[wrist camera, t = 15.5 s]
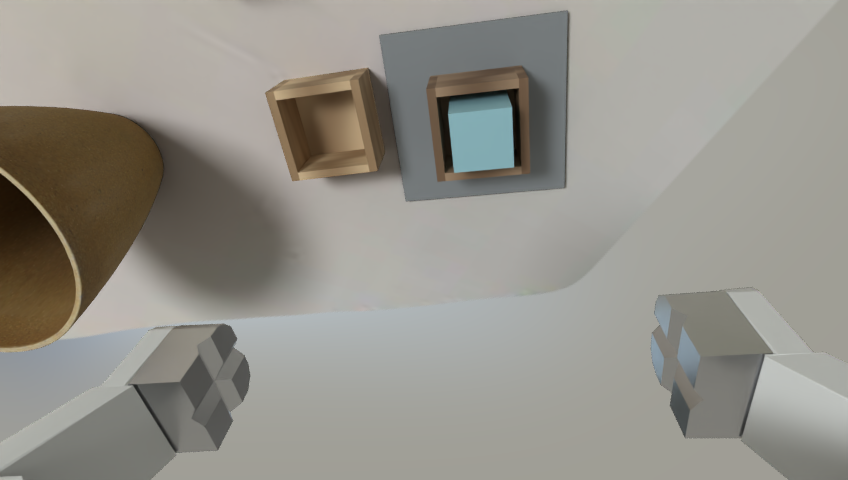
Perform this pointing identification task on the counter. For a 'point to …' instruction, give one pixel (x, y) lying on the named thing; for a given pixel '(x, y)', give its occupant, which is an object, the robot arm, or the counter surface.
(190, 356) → the robot arm
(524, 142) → the brown wooden square tray
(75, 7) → the counter surface
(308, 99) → the light wooden open box
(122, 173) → the plant pot
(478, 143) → the light blue block
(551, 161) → the slate mat
